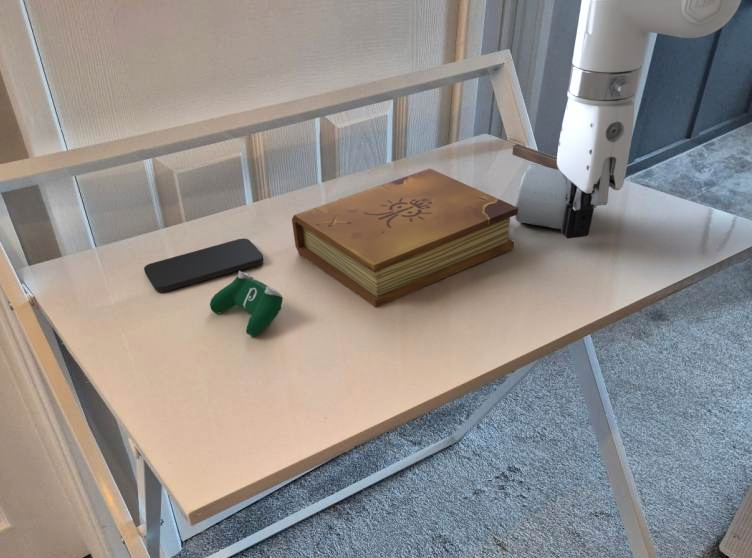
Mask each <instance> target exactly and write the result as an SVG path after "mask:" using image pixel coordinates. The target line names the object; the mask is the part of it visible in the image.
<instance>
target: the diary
mask: <svg viewBox="0 0 752 558" xmlns="http://www.w3.org/2000/svg"><path fill="white" fill-rule="evenodd" d="M517 214H518V207H516V205H513V204H511V203H508V202H507V201H504V200H503V199H500V198H497V197H495V196H493V195H491V194H489V193H487V192H484V191H482V190H479V189H477V188H475V187H473V186H470V185H469V184H466V183H464V182H462V181H460V180H457V179H456V178H455V179H454V178H452V177H450V176H448V175H446V174H444V173H441V172H439V171H437V170H434V169H432V168H427V169H423V170H421V171H418V172H415V173H413V174H409V175H406V176H403V177H401V178H398V179H395V180H392V181H389V182H386V183H383V184H381V185H377V186H374V187H372V188H369V189H366V190H363V191H360V192H357V193H354V194H352V195H348V196H345V197H343V198H340V199H337V200H333V201H331V202H328V203H325V204H322V205H319V206H316V207H314V208H311V209H308V210H304V211H302V212H299V213H296V214H294V215H293V216H292V219H291V223H292V231H293V232H292V233H293V238H294V246H295V248H296V251H297V253H298V255H300V256H301V257H303V258H304V259H305V258H306V259H305V260H307V261H308V260H309V261H308V262H309V263H311V262H312V263H311V264H313V265H314V266H315V265H316V267H317V266H318V267H319V268H318V267H317V268H318V269H319V270H321V269H322V270H321V271H323V272H324V273H326V274H327V275H328V276H330V277H331V278H333V280H336V281H337V282H339V283H340V284H341V285H343V286H344V287H345V288H347V289H349V290H350V291H351V292H353V293H354V294H356V295H357V296H358V297H360V298H361V299H363V300H364V301H366V302H367V303H369V304H370V305H371V306H373V307H375V308H378V307H380V306H382V305H384V304H387V303H388V302H392V301H393V300H394V301H395V300H396V299H398V298H401V297H403V296H405V295H408V294H411V293H413V292H414V291H417V290H420V289H422V288H424V287H427V286H429V285H431V284H433V283H436V282H438V281H441V280H443V279H445V278H447V277H451V276H452V275H454V274H457V273H459V272H461V271H464V270H467V269H469V268H471V267H473V266H476V265H477V264H481V263H483V262H484V261H487V260H490V259H492V258H494V257H496V256H499V255H502V254H503V253H506V252H508V251H511V250H513V249H515V243H516V241H514V240H512V239H510V238H509V232H510V222H511V218H512V217H515V215H517Z"/></svg>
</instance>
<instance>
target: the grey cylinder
mask: <svg viewBox="0 0 752 558" xmlns="http://www.w3.org/2000/svg"><path fill="white" fill-rule="evenodd" d="M566 186H567V184H566V180H565V178H564V177H563V175H562V172H561V171H560V170H557V169H553V168H549V167H547V166H544V165H541V164H537V163H531V164H530V165H529V166H528V167H527V169H526V170H525V172H524V174H523V176H522V178H521V182H520V184H519V189H518V192H517V196H516V202H515V206H516V207H518V214H517V215H515V216H514V217H515V220H516V221H517V222H518V223H522V224H528V225H535V226H538V227H539V226H540V227H546V228H551V229H556V230H562V225H563V219H564V213H565V207H566V204H569V203H566V201H565V196H566Z"/></svg>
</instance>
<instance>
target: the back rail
mask: <svg viewBox="0 0 752 558" xmlns="http://www.w3.org/2000/svg"><path fill="white" fill-rule="evenodd" d="M512 155H513V156H516V157H519V158H521V159H524V160H527V161H530V162H533V163H534V164H537V165H540V166H544V167H548V168H553V169H557V170H559V168H558V166H557V156H553V155H552V154H548V153H545V152H542V151H539V150H536V149H533V148H530V147H527V146H524V145H521V144H518V143H516V144H513V145H512Z"/></svg>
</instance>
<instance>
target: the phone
mask: <svg viewBox="0 0 752 558" xmlns="http://www.w3.org/2000/svg"><path fill="white" fill-rule="evenodd" d="M264 261H265V260H264V254H263V252H261V251H260V250H259V249H258V247H256V245H255V244H254V243H253V242H252V241H251V240H250V239H248V238H237V239H235V240H231V241H227V242H222V243H219V244H216V245H212V246H209V247H205V248H202V249H198V250H194V251H191V252H187V253H184V254H183V253H182V254H180V255H175V256H172V257H169V258H165V259H161V260H158V261H155V262H151V263H148V264H146V265H145V266H144V267H143V270H144V274H145V276H146V277H147V279H148V281H149V283H150V284H151V286H152V287H153V289H154V291H156V292H157V293H158V292H159V293H164V292H163V291H165V292H169V291H172V290H176V289H179V288H183V287H186V286H189V285H193V284H196V283H199V282H203V281H206V280H209V279H214V278H217V277H220V276H224V275H227V274H231V273H234V272H237V271H241V270H245V269H248V268H251V267H254V266H257V265H261V264H262V263H263V262H264ZM182 286H183V287H182Z"/></svg>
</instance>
